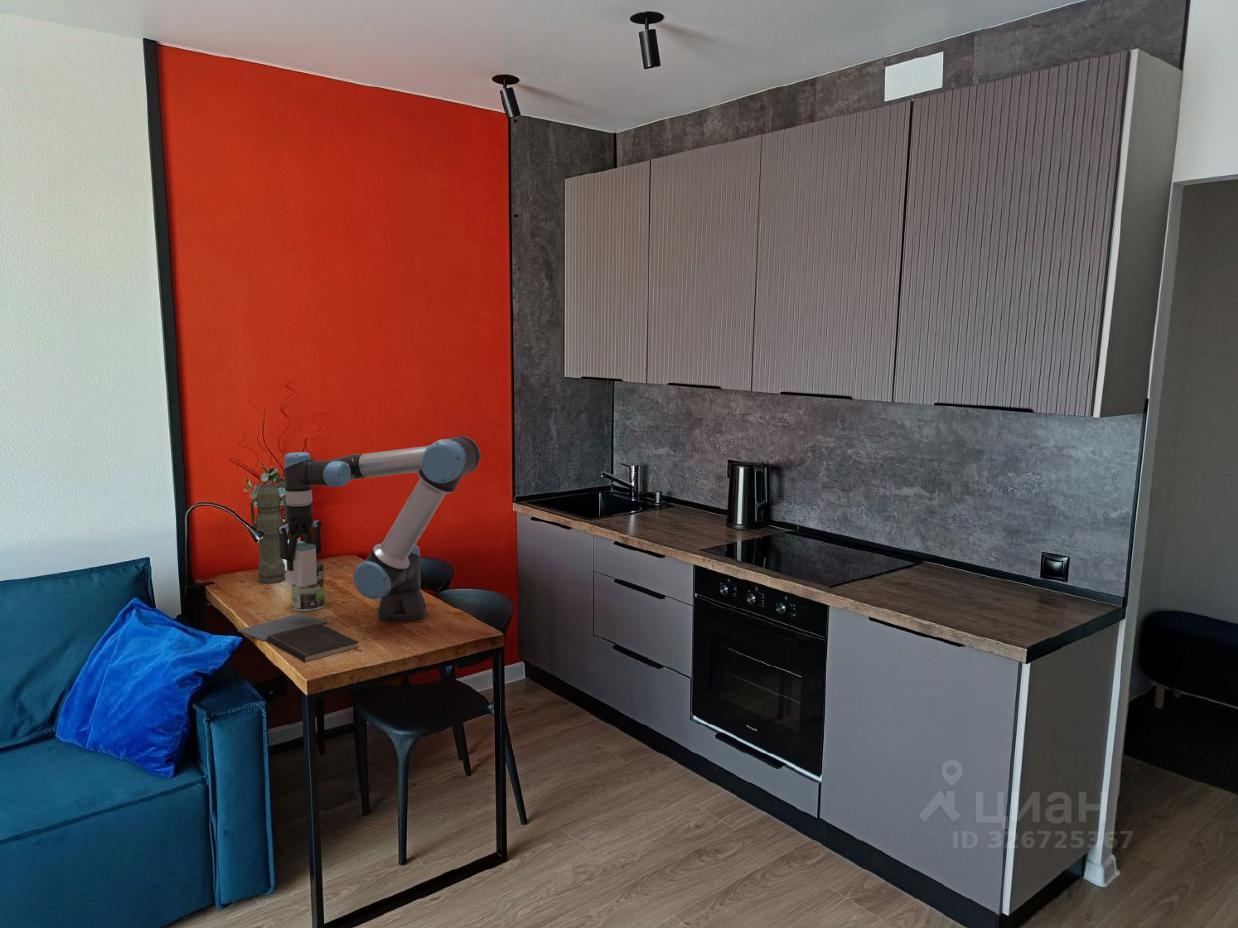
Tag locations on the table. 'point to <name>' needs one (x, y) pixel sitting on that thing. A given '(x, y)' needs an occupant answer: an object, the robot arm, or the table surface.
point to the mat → (280, 626)
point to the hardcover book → (312, 642)
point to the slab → (304, 565)
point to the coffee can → (310, 593)
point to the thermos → (269, 533)
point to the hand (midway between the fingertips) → (302, 578)
